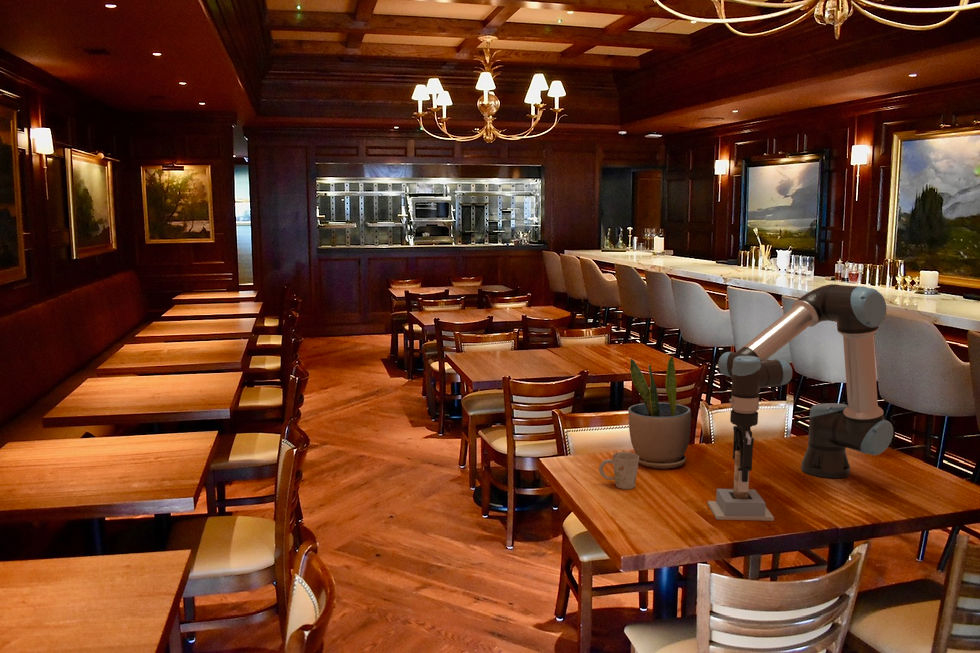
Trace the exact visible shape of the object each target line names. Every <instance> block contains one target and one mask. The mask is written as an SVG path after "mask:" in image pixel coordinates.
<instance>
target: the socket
mask: <svg viewBox="0 0 980 653" xmlns="http://www.w3.org/2000/svg"><path fill="white" fill-rule="evenodd" d="M733 490H734V488H716V497H715V500H707V506H708V507H709V509H710V511H711V513H712V514H713V516H714V517H715V520H722V521H724V520H727V521H730V520H731V521H765V522H767V521H769V522H770V521H773V522H774V521H775V516H773V514H772V512H770V510H769V509H768V508H767V506H766V505H767V504H766V501H765V500H764V499H763V498H762V496H761V495H760V494H759V493H758V492H757V490H756V489H754V488H753V489H751V488H748V499H733Z"/></svg>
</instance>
